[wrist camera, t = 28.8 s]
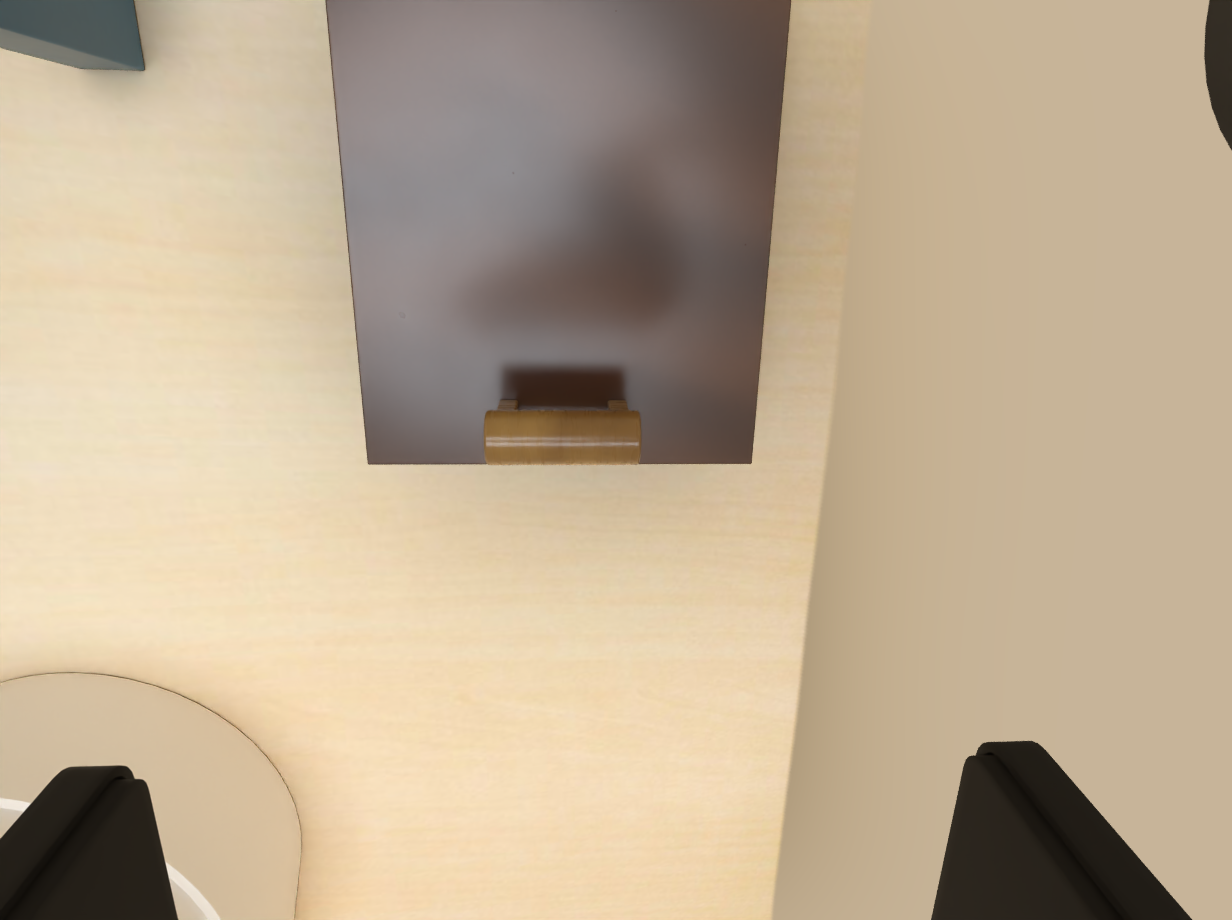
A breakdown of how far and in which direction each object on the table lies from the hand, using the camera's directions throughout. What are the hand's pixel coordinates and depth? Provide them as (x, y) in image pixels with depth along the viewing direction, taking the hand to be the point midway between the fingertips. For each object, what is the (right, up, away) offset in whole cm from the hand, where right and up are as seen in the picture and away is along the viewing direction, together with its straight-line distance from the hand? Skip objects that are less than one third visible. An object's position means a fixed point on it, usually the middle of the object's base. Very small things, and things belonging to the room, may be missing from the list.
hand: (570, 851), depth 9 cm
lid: (-1, +13, +18) cm, 22 cm away
